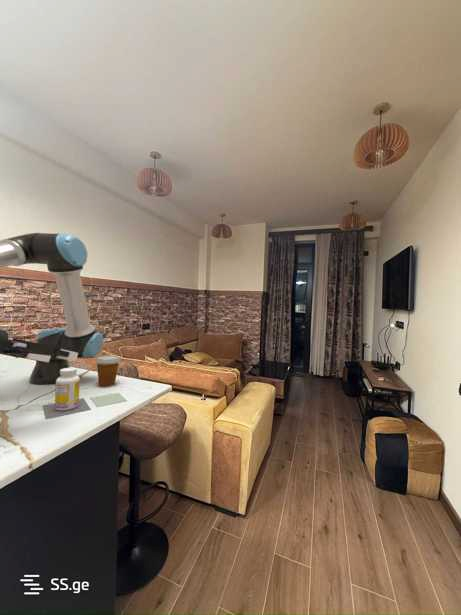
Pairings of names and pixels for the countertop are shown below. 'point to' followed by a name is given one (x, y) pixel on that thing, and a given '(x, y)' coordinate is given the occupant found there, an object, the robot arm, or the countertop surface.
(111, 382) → the disposable coffee cup
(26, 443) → the countertop surface
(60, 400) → the supplement bottle
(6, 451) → the countertop surface
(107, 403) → the mat
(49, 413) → the mat
